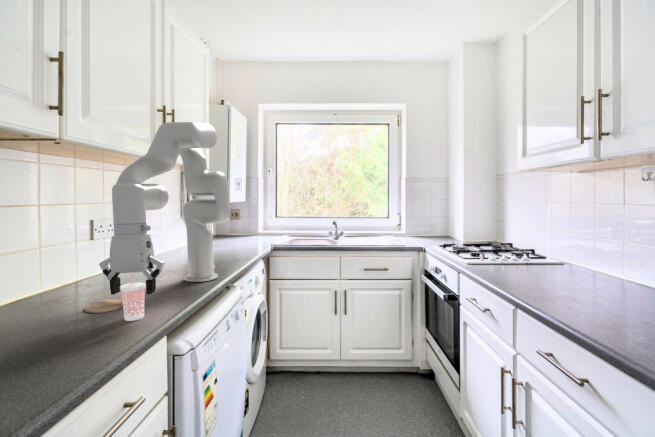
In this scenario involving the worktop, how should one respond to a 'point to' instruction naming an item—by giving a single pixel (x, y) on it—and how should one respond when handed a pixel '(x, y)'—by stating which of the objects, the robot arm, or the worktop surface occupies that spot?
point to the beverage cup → (133, 300)
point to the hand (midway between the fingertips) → (133, 293)
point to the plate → (104, 306)
